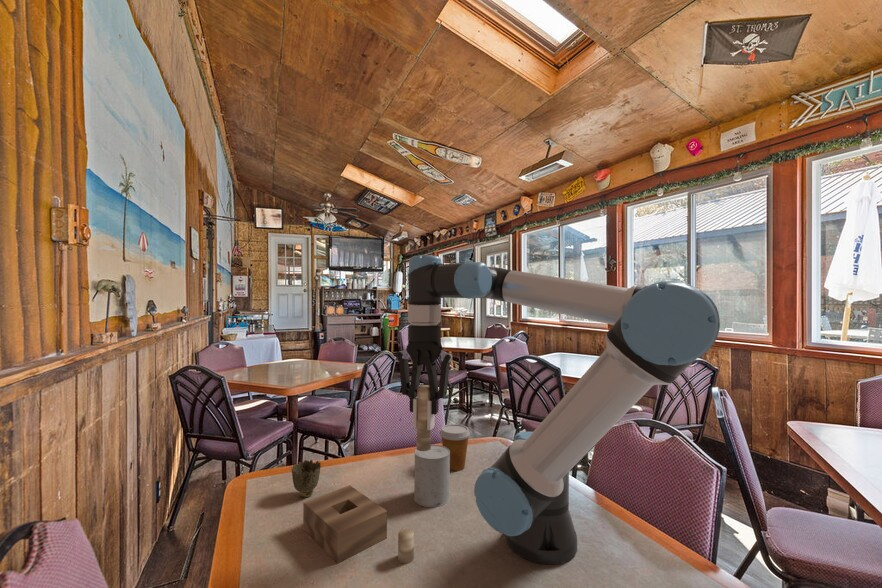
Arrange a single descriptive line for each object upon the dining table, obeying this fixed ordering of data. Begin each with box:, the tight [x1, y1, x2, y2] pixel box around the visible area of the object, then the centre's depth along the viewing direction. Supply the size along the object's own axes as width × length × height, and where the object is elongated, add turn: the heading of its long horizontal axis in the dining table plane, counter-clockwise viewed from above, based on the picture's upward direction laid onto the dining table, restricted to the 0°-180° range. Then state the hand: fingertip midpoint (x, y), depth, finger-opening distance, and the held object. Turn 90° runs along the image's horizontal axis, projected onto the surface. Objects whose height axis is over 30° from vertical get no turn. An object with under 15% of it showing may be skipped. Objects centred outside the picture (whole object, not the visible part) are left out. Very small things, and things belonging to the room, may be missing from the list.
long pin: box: [416, 384, 432, 451], centre depth 87 cm, size 3×3×14 cm
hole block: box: [302, 485, 388, 564], centre depth 87 cm, size 16×12×6 cm
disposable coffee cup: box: [439, 423, 471, 472], centre depth 121 cm, size 10×10×12 cm
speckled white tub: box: [413, 444, 451, 508], centre depth 102 cm, size 10×10×12 cm
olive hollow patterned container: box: [291, 459, 322, 498], centre depth 103 cm, size 8×7×8 cm
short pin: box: [397, 528, 415, 565], centre depth 78 cm, size 3×3×5 cm
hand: (423, 427), depth 87 cm, fingers closed on long pin, 3 cm apart
